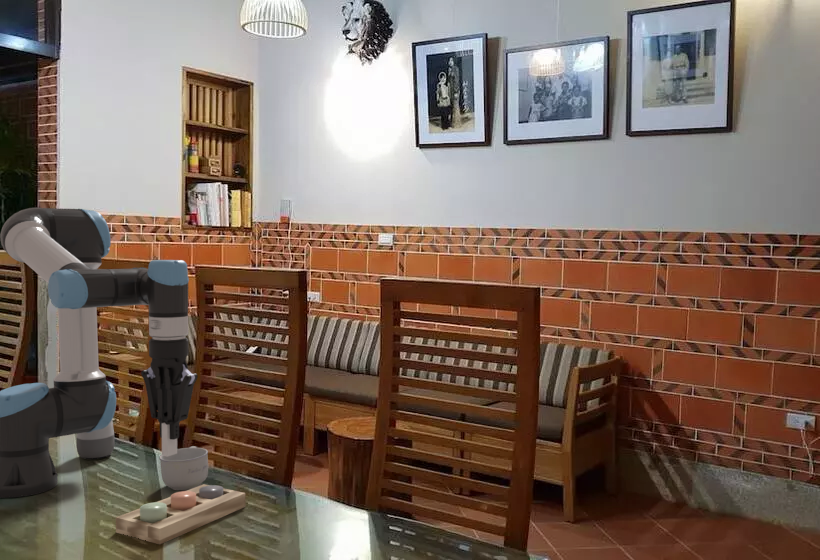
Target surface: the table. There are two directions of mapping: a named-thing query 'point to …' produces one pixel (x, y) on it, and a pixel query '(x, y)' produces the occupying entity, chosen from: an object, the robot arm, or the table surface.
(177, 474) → the teacup
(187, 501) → the terracotta button
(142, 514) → the sage button
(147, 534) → the button panel
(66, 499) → the table surface
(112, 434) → the smart speaker
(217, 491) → the charcoal button
